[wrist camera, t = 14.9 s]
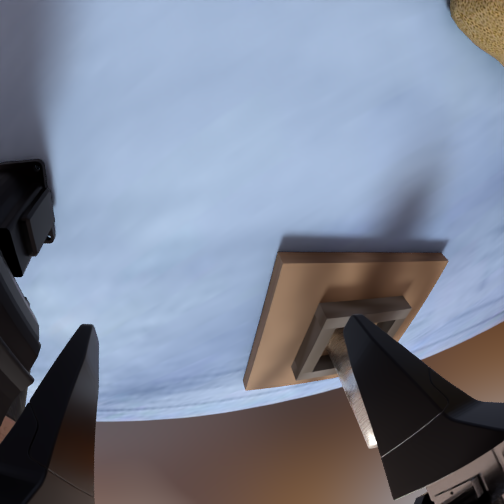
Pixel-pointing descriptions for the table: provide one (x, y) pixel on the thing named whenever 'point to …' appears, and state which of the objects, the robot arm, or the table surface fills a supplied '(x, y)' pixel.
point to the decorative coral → (481, 24)
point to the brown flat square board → (332, 308)
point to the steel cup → (349, 383)
